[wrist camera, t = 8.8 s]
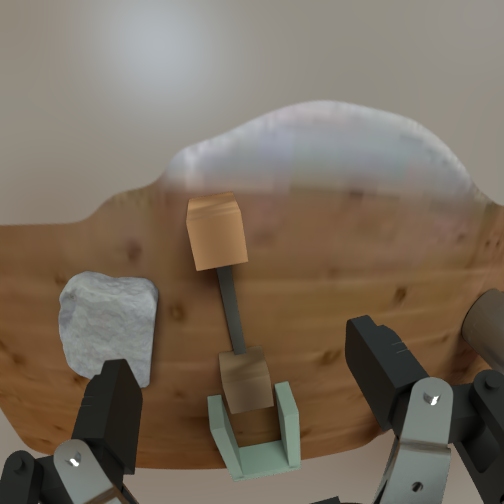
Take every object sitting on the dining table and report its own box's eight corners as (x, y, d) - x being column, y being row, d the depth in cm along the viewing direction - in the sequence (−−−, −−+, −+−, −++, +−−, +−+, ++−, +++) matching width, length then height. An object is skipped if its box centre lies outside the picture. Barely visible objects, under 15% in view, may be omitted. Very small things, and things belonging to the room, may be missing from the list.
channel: (287, 381, 35) (298, 412, 31) (292, 442, 42) (300, 468, 37) (207, 396, 35) (210, 429, 30) (229, 454, 41) (233, 481, 36)
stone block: (78, 347, 32) (158, 373, 32) (60, 372, 27) (146, 403, 28) (75, 253, 28) (168, 277, 28) (48, 272, 23) (152, 302, 24)
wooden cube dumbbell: (237, 190, 26) (248, 210, 20) (265, 376, 35) (276, 416, 29) (182, 200, 25) (178, 223, 20) (227, 384, 34) (233, 425, 29)
